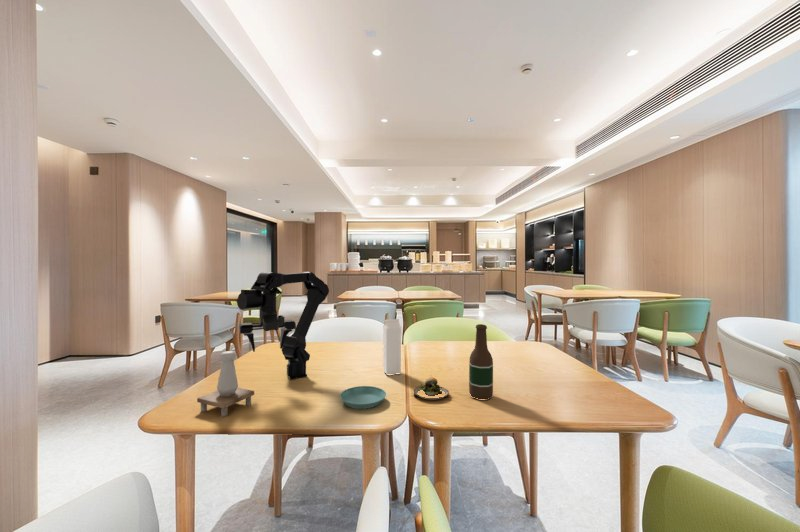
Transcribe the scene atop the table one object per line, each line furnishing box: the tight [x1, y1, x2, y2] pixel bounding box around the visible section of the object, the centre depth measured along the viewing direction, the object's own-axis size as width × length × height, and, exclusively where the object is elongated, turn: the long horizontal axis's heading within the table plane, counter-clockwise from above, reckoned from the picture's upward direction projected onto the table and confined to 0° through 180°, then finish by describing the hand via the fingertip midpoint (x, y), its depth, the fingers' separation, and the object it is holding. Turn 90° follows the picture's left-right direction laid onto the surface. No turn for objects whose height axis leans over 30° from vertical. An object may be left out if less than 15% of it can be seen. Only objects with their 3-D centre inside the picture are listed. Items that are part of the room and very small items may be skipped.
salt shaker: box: [216, 350, 239, 397], centre depth 102 cm, size 6×6×13 cm
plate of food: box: [413, 376, 450, 400], centre depth 113 cm, size 12×12×8 cm
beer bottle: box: [468, 324, 494, 399], centre depth 112 cm, size 8×8×24 cm
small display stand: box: [196, 387, 255, 418], centre depth 102 cm, size 11×11×4 cm
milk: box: [382, 318, 402, 374], centre depth 136 cm, size 6×6×22 cm
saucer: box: [339, 385, 387, 410], centre depth 107 cm, size 15×15×3 cm
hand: (267, 350), depth 121 cm, fingers open, 9 cm apart
